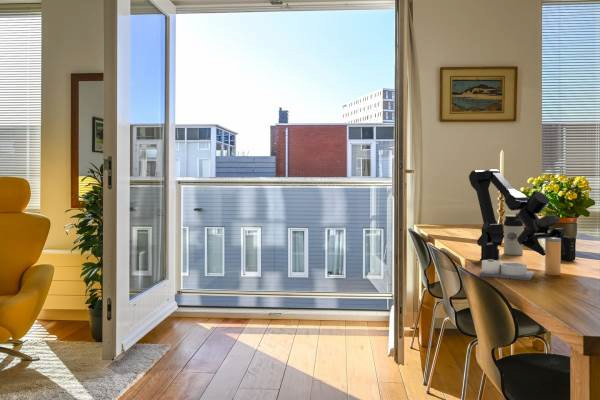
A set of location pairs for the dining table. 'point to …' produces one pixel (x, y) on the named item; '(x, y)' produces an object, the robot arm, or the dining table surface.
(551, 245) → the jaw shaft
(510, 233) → the travel mug
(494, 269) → the housing
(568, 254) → the electronic device
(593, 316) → the dining table surface
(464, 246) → the dining table surface
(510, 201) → the robot arm
